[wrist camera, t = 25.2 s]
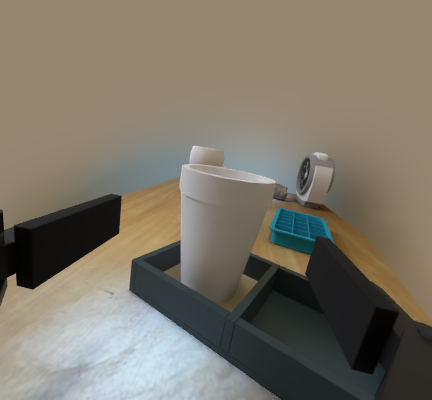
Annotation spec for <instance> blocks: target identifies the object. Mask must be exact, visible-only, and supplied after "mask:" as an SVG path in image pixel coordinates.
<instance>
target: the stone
mask: <svg viewBox="0 0 432 400" xmlns="http://www.w3.org/2000/svg"><path fill="white" fill-rule="evenodd" d="M287 189H288V188H287V187H285V186H281V185H280V184H277V183H276V186H275V190H274V194H273V198H277V199H280V200H284V199H285V198H286V196H287V194H288V193H287Z"/></svg>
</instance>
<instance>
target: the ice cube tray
mask: <svg viewBox="0 0 432 400" xmlns="http://www.w3.org/2000/svg"><path fill="white" fill-rule="evenodd" d="M269 228H270V229H271V230H273V232H272V237H271V241H272V242H273V243H274V244H278V245H281V246H284V247H288V248H291V249H294V250H298V251H301V252H305V253H308V254H311V253H312V249H313V246H314V243H315V239H316V236H321V237H326V238H329V239H330V240H331V241H332V242H333V243H334V241H333V238H332V236H331V233H330V231H329V229H328V226H327V224H326V221H325V220H324V219H322V218H319V217H315V216H311V215H307V214H303V213H299V212H295V211H291V210H287V209H283V208H278V210H277V212H276V214H275V216H274V218H273V220H272V223H271V225H270V227H269ZM334 244H335V243H334Z"/></svg>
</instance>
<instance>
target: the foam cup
mask: <svg viewBox="0 0 432 400" xmlns="http://www.w3.org/2000/svg"><path fill="white" fill-rule="evenodd" d="M275 186H276V182H275V181H274V180H272V179H269V178H267V177H264V176H260V175H256V174H252V173H248V172H244V171H239V170H234V169H228V168H222V167H216V166H209V165H200V164H186V165H182V170H181V178H180V185H179V189H180V190H181V283H183V284H184V285H186V286H188V287H189V288H191V289H193V290H194V291H196V292H198V293H199V294H201V295H203V296H205V297H206V298H208V299H210V300H211V301H213V302H215V303H216V304H217V303H221V302H225V301H228V300H229V299H230V298H231V297H232V296H233V295H234V294H235V291H236V289H237V287H238V284H239V282H240V279H241V276H242V274H243V271H244V269H245V266H246V263H247V261H248V258H249V256H250V253H251V250H252V248H253V245H254V243H255V240H256V237H257V235H258V232H259V229H260V227H261V224H262V222H263V219H264V216H265V214H266V211H267V209H268V207H270V206H271V202H272V198H273V194H274V190H275Z"/></svg>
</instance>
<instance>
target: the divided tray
mask: <svg viewBox="0 0 432 400" xmlns="http://www.w3.org/2000/svg"><path fill="white" fill-rule="evenodd" d="M129 290H130V291H132V292H133V293H135V294H136V295H137V296H139V297H140V298H142V299H143V300H144V301H146V302H147V303H148V304H150V305H151V306H153V307H154V308H155V309H157V310H158V311H160V312H161V313H162V314H164V315H165V316H167V317H168V318H169V319H171V320H172V321H174V322H175V323H176V324H178V325H179V326H180V327H182V328H183V329H185V330H186V331H187V332H189V333H190V334H192V335H193V336H194V337H196V338H197V339H199V340H200V341H201V342H203V343H204V344H206V345H207V346H208V347H210V348H211V349H213V350H214V351H215V352H217V353H218V354H219V355H221V356H222V357H224V358H225V359H226V360H228V361H229V362H231V363H232V364H233V365H235V366H236V367H238V368H239V369H240V370H242V371H243V372H245V373H246V374H247V375H249V376H250V377H251V378H253V379H254V380H256V381H257V382H258V383H260V384H261V385H263V386H264V387H265V388H267V389H268V390H270V391H271V392H272V393H274V394H275V395H277V396H278V397H279V398H281V399H282V400H374V399H375V394H376V392H377V389H378V387H379V385H380V383H381V380H382V378H383V376H384V374H385V371H384V369H383V368H382V366H381V364H380V363H379V361H378V363H377V366H376V368H375V370H374V373H373V375H372V374H368V373H364V372H360V371H356V370H352V369H351V368H350V366H349V364H348V361H347V359H346V357H345V355H344V353H343V351H342V349H341V347H340V345H339V343H338V341H337V339H336V337H335V335H334V332H333V330H332V328H331V326H330V324H329V322H328V320H327V318H326V316H325V314H324V312H323V310H322V308H321V306H320V303H319V301H318V299H317V297H316V295H315V293H314V291H313V289H312V287H311V285H310V283H309V281H308V279H307V277H306V276H304V275H301V274H299V273H297V272H294V271H292V270H289V269H287V268H285V267H282V266H280V265H278V264H275V263H273V262H271V261H268V260H266V259H264V258H261V257H259V256H257V255H254V254H252V253H250V256H249V258H248V261H247V263H246V266H245V269H244V271H243V274H242V276H241V279H240V282H239V284H238V287H237V289H236V291H235V294H234V295H233V296H232V297H231V298H230V299H229V300H228V301H225V302H221V303H217V304H216V303H215V302H213V301H211V300H210V299H208V298H206V297H205V296H203V295H201V294H199V293H198V292H196V291H194V290H193V289H191V288H189V287H188V286H186V285H184V284H183V283H181V240H180V241H178V242H175V243H173V244H170V245H168V246H165V247H163V248H160V249H158V250H155V251H153V252H150V253H148V254H145V255H143V256H140V257H138V258H135V259H133V260H132V266H131V277H130V288H129Z"/></svg>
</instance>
